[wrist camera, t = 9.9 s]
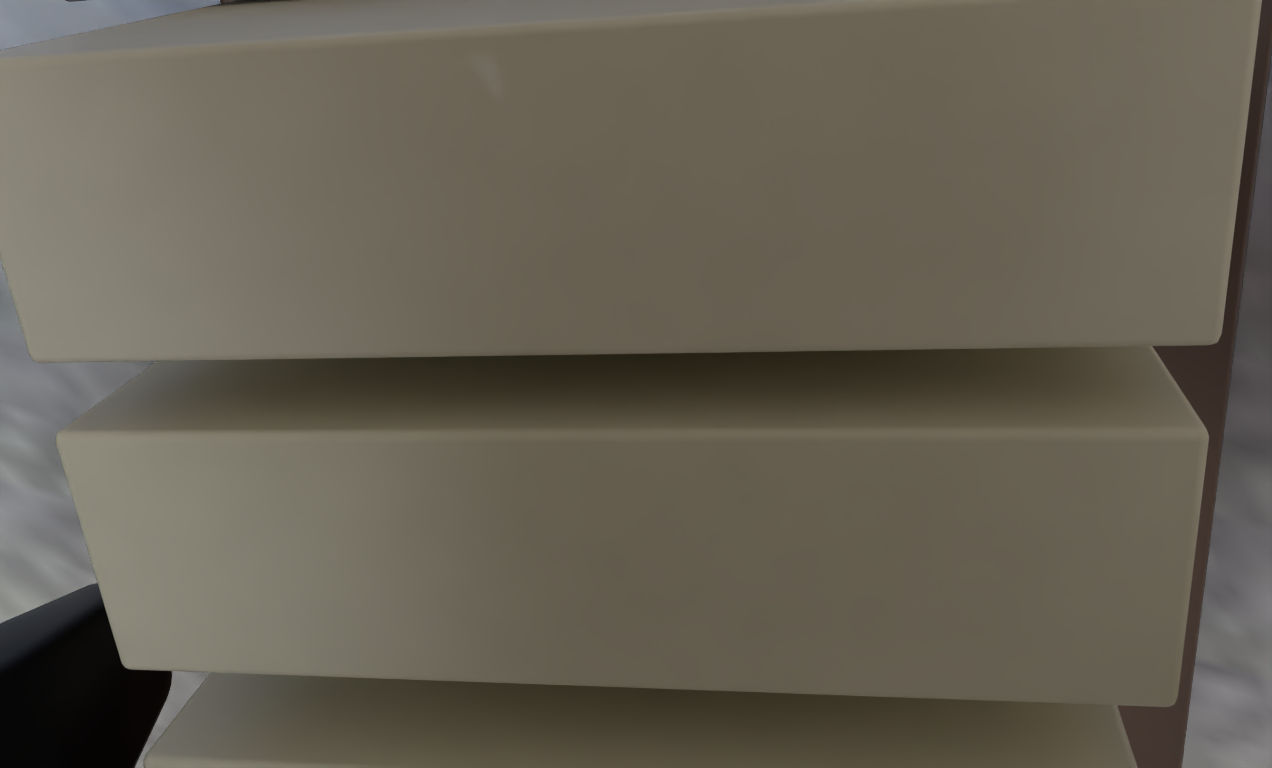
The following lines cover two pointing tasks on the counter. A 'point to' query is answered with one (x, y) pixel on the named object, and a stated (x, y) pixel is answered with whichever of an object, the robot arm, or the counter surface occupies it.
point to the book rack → (1207, 391)
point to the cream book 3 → (615, 728)
